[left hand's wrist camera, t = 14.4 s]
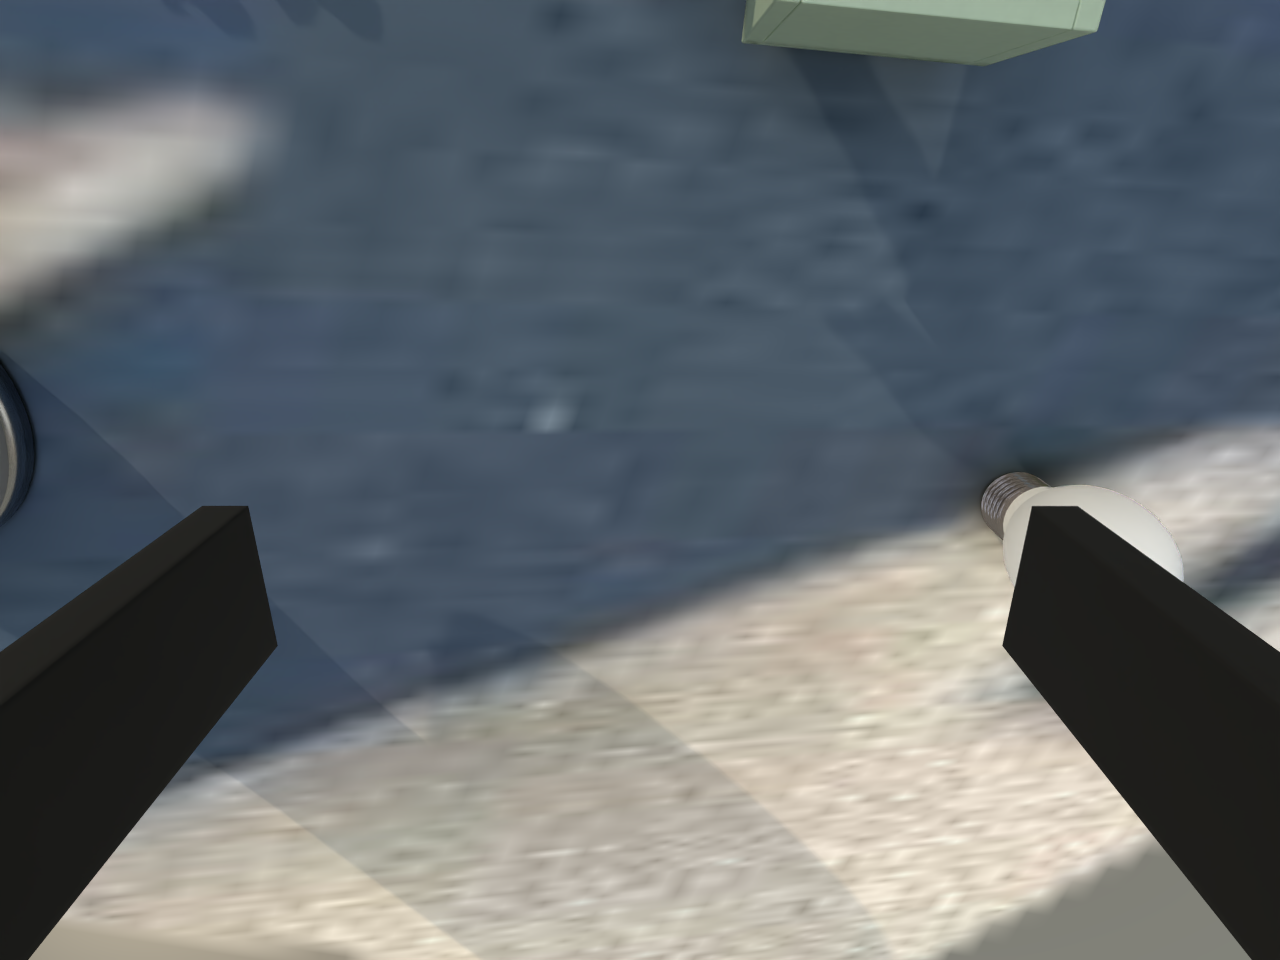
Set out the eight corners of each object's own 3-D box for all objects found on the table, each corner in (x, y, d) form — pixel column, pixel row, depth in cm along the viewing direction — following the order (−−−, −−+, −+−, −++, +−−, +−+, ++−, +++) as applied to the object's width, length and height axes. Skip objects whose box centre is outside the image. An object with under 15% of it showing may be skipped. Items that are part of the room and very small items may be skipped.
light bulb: (931, 513, 41) (1028, 620, 31) (1023, 421, 39) (1159, 502, 29) (1014, 578, 43) (1132, 701, 32) (1106, 492, 41) (1263, 594, 31)
